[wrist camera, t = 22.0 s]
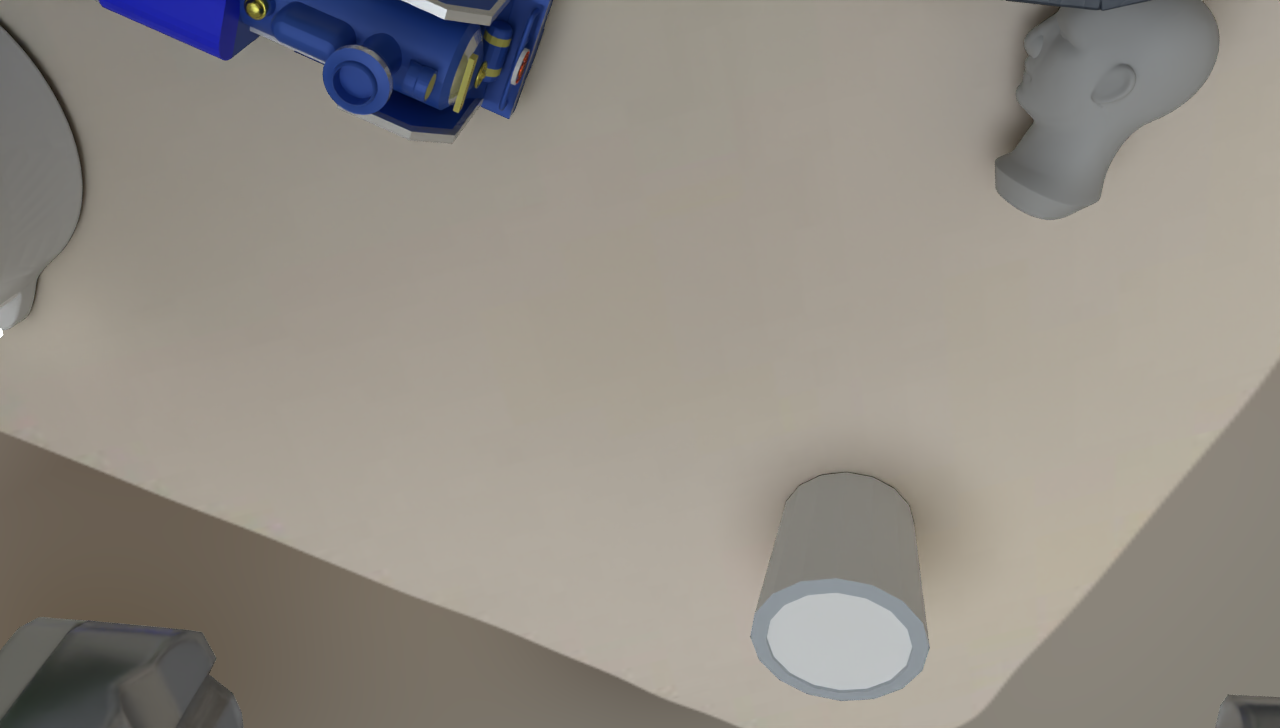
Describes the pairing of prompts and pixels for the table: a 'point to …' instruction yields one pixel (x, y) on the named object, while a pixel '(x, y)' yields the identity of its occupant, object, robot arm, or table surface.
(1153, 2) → the grey rounded elongated piece
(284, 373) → the table surface
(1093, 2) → the tin
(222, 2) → the toy train
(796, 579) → the white cylinder
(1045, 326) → the table surface
